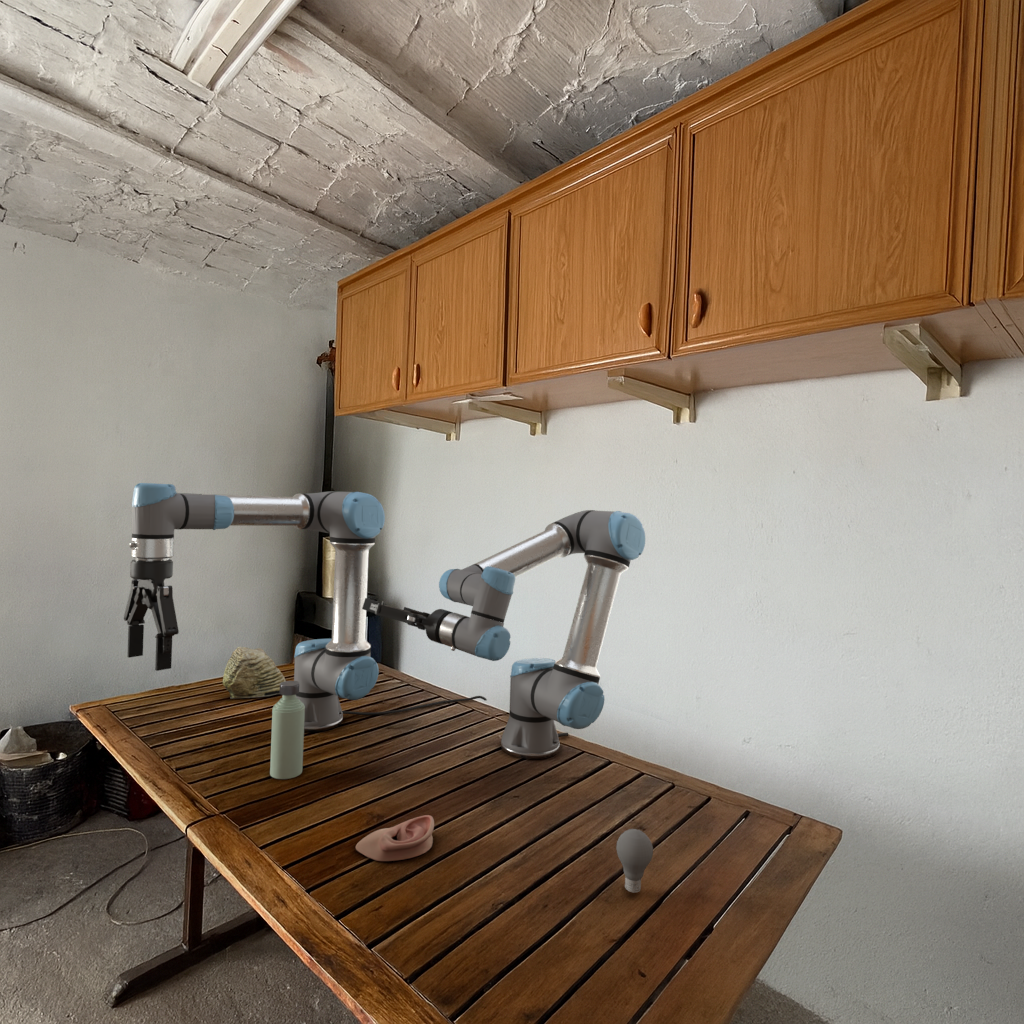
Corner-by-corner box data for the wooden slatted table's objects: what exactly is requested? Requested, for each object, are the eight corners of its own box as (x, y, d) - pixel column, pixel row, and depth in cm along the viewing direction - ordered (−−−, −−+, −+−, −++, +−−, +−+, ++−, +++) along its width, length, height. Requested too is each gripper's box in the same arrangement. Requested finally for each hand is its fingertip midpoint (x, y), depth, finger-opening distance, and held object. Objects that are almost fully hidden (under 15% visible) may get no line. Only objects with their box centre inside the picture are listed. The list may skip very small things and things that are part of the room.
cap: (284, 696, 141) (284, 687, 141) (276, 692, 144) (276, 682, 144) (302, 693, 144) (302, 683, 144) (293, 688, 147) (294, 679, 147)
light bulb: (610, 879, 108) (613, 822, 108) (644, 879, 109) (647, 822, 109) (619, 902, 102) (622, 840, 102) (655, 901, 103) (658, 840, 103)
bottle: (278, 782, 140) (281, 691, 139) (264, 771, 145) (268, 684, 144) (307, 773, 145) (311, 685, 144) (293, 763, 150) (297, 678, 149)
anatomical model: (348, 834, 112) (375, 804, 123) (347, 856, 112) (374, 824, 123) (419, 845, 109) (440, 813, 120) (418, 868, 109) (439, 834, 121)
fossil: (218, 695, 195) (220, 647, 195) (278, 685, 208) (279, 640, 207) (228, 703, 189) (230, 653, 188) (289, 692, 201) (290, 645, 201)
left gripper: (108, 554, 134) (104, 654, 134) (159, 565, 118) (155, 678, 119) (146, 552, 140) (143, 648, 140) (199, 563, 124) (195, 671, 124)
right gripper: (406, 638, 133) (342, 615, 145) (476, 650, 153) (414, 629, 165) (416, 603, 134) (351, 584, 146) (484, 620, 154) (422, 601, 166)
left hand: (148, 662), depth 129 cm, fingers open, 13 cm apart
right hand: (384, 608), depth 156 cm, fingers open, 13 cm apart
